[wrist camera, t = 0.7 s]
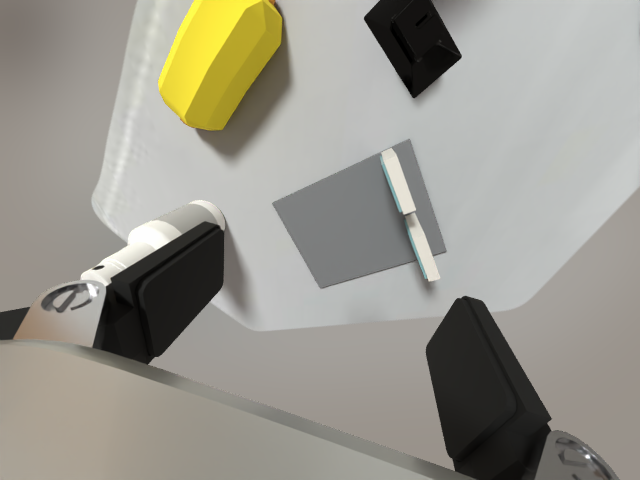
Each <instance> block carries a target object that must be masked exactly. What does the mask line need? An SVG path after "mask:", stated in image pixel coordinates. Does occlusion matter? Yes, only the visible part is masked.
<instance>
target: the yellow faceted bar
mask: <svg viewBox="0 0 640 480" xmlns="http://www.w3.org/2000/svg"><path fill="white" fill-rule="evenodd" d="M274 2H275V0H194V2H193V4H192V6H191V8H190V10H189V11H188V13H187V15H186V17H185V19H184V21H183V22H182V24H181V26H180V28H179V30H178V33H177V35H176V38H175V40H174V43H173V45H172V48H171V50H170V53H169V55H168V58H167V60H166V63H165V65H164V68H163V70H162V73H161V75H160V78H159V80H158V85H159V92H160V94H161V96H162V98H163V100H164V102H165V104H166V105H167V106H168V107H169V108H170V109H171V110H172V111H174V112H175V113H176V114H177V115H178V116H179V117H180V120H181V121H182V122H183V123H184V124H186V125H188V126H189V127H192V128H195V127H196V128H200V129H205V130H209V131H210V130H223V128H224V127H225V125H226V124H227V122H228V120H229V119H230V117H231V116H232V114H233V112H234V111H235V109H236V108H237V106H238V104H239V103H240V101H241V100H242V98H243V96H244V95H245V93H246V92H247V90H248V89H249V87H250V86H251V84H252V83H253V82H254V80H255V79H256V78H257V76H258V75H259V73H260V72H261V71H262V69H263V68H264V66H265V65H266V64H267V62H268V61H269V60H270V58H271V57H272V55H273V54H274V53H275V51H276V50H277V48H278V47H279V46H280V44H281V34H282V17H281V15H280V14H279V13H278V11H277V10H276V8H275V7H274Z"/></svg>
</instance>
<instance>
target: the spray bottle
mask: <svg viewBox="0 0 640 480" xmlns="http://www.w3.org/2000/svg"><path fill="white" fill-rule="evenodd" d="M204 221H207V222H210V223H214V224H217V225H219V226H220V227H221V229H222V230H223V231H224V230H225V220H224V217H223V214H222V213H221V211H220V210H219V209H218V208H217V207H216V206H215V205H214V204H212V203H210V202H208V201H203V200H196V201H193V202H191V203H189V204H187V205H184V206H182V207H180V208H178V209H176V210H174V211H171V212H169V213H167V214H165V215H163V216H160V217H158V218H156V219H154V220H152V221H149V222H147V223H145V224H143V225H141V226H139V227H137V228H135V229H133V230H132V231H131V233H130V235H129V237H128V246H127V247H125V248H123V249H121V250H120V251H119V252H117V253H115V254H113V255H111V256H109V257H107V258H105V259H103V260H102V262H101V263H99V264H98V265H97V266H95V267H93V268H92V269H90V270H88V271H86V272H84V273H82V275H81V280H94V281H98V282H100V283H103V284H104V286H107V285H109V284H110V283H112V282H111V279H110V278H111V277H113V276H114V275H116V274H118V273H119V272H121V271H123V270H124V269H126V268H128V267H129V266H131V265H133V264H134V263H136V262H138V261H139V260H141V259H142V258H144V257H146V256H147V255H149V254H151V253H152V252H154V251H156V250H157V249H159V248H161V247H162V246H164V245H166V244H167V243H169V242H171V241H172V240H174V239H176V238H177V237H179V236H180V235H182V234H184V233H185V232H187V231H189V230H190V229H192V228H194V227H195V226H197V225H199V224H200V223H202V222H204Z"/></svg>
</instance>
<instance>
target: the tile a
mask: <svg viewBox="0 0 640 480" xmlns="http://www.w3.org/2000/svg"><path fill="white" fill-rule="evenodd" d="M381 154H382V155H381V156H380V160H381V164H382V167H383V170H384V172H385V175H386V178H387V180H388V183H389V186H390V188H391V191H392V193H393V196H394V199H395V201H396V204H397V207H398V209H399V212H402V211H403V214H407V213H410V212H413V211H415V210H416V208H415V205H414V202H413V199H412V197H411V194H410V191H409V188H408V185H407V183H406V180H405V177H404V174H403V171H402V168H401V166H400V163H399V160H398V157H397V155H396V153H395V152H394V151H393V149H392V148H390V149H388V150H385V151H383V152H381Z"/></svg>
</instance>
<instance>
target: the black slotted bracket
mask: <svg viewBox="0 0 640 480" xmlns="http://www.w3.org/2000/svg"><path fill="white" fill-rule="evenodd" d="M364 20H365V22H366V23H367V25H368V27H369V28H370V30H371V31H372V33H373V35H374V36H375V38H376V39H377V41H378V43H379V44H380V46H381V47H382V49H383V51H384V52H385V54H386V55H387V57H388V59H389V60H390V62H391V64H392V65H393V67H394V68H395V70H396V72H397V73H398V75H399V76H400V78H401V80H402V81H403V83H404V84H405V86H406V88H407V89H408V91H409V92H410V94H411V96H412V97H413V98H415V97H417V96H418V95H419V94H420V93H421V92H422V91H424V90H425V89H426V88H427V87H428V86H429V85H431V84H432V83H433V82H434V81H435V80H436V79H438V78H439V77H440V76H441V75H442V74H443V73H445V72H446V71H447V70H448V69H449V68H450V67H452V66H453V65H454V64H455V63H456V62H457V61H459V60H460V59H461V57H462V55H461V54H460V52H459V50H458V48H457V46H456V45H455V43H454V41H453V39H452V37H451V36H450V34H449V32H448V30H447V28H446V27H445V25H444V23H443V21H442V19H441V18H440V16H439V14H438V12H437V10H436V9H435V7H434V5H433V3H432V1H431V0H380V1H379V2H378V3H377V4H376V5H375V6H374V7H373V8H372V9H371V10H370V11H369V12H368V13H367V15H366V16H365V17H364Z"/></svg>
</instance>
